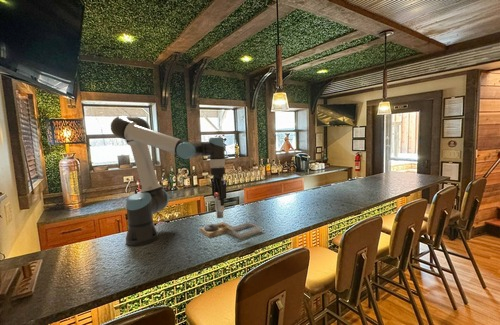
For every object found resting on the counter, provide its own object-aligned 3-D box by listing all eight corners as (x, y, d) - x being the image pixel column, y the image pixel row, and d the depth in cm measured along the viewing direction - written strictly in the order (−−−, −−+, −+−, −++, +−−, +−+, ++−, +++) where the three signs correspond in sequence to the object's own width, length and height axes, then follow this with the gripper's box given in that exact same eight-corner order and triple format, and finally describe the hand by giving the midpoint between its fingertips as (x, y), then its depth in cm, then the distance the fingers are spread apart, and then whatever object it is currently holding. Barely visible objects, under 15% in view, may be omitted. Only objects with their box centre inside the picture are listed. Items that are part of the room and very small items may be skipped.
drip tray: (239, 240, 120) (239, 234, 120) (227, 234, 129) (227, 228, 129) (261, 233, 128) (260, 227, 128) (248, 228, 137) (248, 222, 137)
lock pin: (218, 219, 130) (217, 193, 129) (213, 217, 134) (212, 192, 133) (226, 217, 133) (225, 192, 132) (221, 215, 137) (220, 190, 136)
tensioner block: (208, 239, 124) (208, 229, 124) (200, 233, 132) (199, 224, 132) (232, 232, 132) (232, 222, 132) (223, 227, 140) (222, 218, 140)
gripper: (232, 167, 126) (234, 212, 129) (216, 165, 140) (218, 206, 142) (219, 168, 122) (221, 215, 124) (204, 166, 135) (206, 208, 138)
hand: (219, 210), depth 133 cm, fingers closed on lock pin, 4 cm apart
